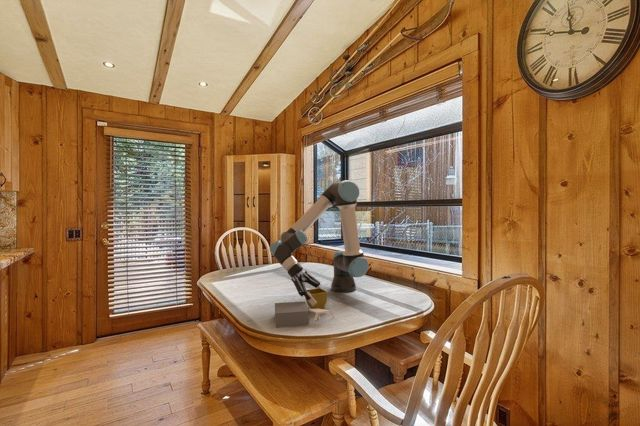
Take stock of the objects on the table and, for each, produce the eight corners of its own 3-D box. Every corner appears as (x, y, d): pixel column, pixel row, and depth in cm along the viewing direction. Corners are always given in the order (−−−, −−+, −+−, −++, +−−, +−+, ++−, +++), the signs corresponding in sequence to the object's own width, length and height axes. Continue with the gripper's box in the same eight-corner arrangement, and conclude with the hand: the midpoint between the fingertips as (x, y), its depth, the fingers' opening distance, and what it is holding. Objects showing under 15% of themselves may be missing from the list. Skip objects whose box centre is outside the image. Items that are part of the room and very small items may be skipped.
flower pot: (311, 313, 147) (311, 294, 146) (304, 308, 154) (304, 290, 154) (328, 310, 150) (328, 291, 150) (320, 305, 158) (320, 287, 158)
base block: (305, 314, 146) (305, 301, 145) (309, 325, 132) (308, 311, 132) (274, 316, 143) (274, 303, 143) (275, 327, 129) (275, 313, 129)
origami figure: (307, 326, 131) (306, 314, 131) (307, 318, 140) (306, 307, 140) (335, 325, 132) (335, 313, 132) (333, 318, 140) (333, 307, 140)
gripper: (299, 267, 169) (325, 298, 164) (275, 277, 147) (304, 313, 141) (307, 258, 167) (334, 289, 161) (284, 266, 145) (314, 302, 139)
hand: (320, 300), depth 151 cm, fingers open, 12 cm apart
